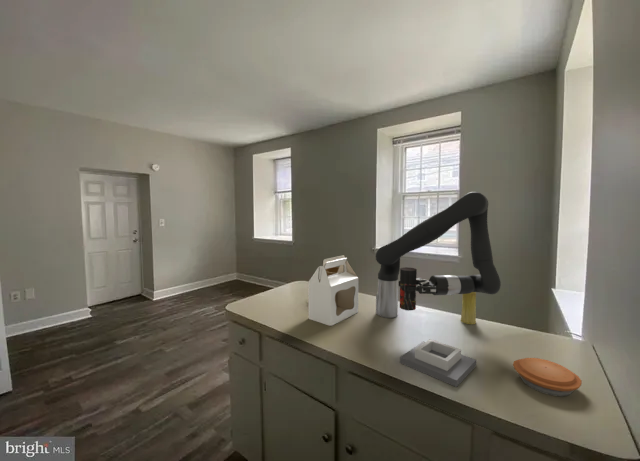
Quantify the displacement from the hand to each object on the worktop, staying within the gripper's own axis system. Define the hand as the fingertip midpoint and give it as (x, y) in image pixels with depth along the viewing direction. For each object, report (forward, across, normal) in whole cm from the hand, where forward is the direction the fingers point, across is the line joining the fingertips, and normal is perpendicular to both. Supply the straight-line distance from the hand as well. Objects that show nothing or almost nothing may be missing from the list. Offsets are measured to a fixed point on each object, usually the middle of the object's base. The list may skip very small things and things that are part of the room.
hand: (401, 286), depth 110 cm
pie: (-32, +30, +21) cm, 49 cm away
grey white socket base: (-6, +18, +21) cm, 28 cm away
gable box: (+23, -27, +22) cm, 41 cm away
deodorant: (-2, 0, +9) cm, 9 cm away
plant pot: (+18, -55, +22) cm, 61 cm away
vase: (-36, -15, +21) cm, 44 cm away
